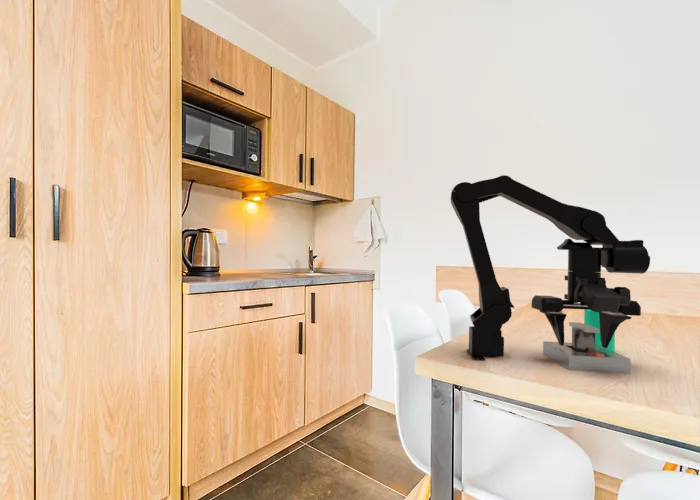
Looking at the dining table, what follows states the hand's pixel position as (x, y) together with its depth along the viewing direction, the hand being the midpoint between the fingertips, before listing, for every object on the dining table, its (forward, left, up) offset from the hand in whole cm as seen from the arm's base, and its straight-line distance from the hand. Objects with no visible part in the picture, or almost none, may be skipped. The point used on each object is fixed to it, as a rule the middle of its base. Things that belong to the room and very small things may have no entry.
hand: (582, 346), depth 71 cm
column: (0, 0, -3) cm, 3 cm away
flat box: (0, 0, -4) cm, 4 cm away
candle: (+10, +12, -4) cm, 16 cm away
